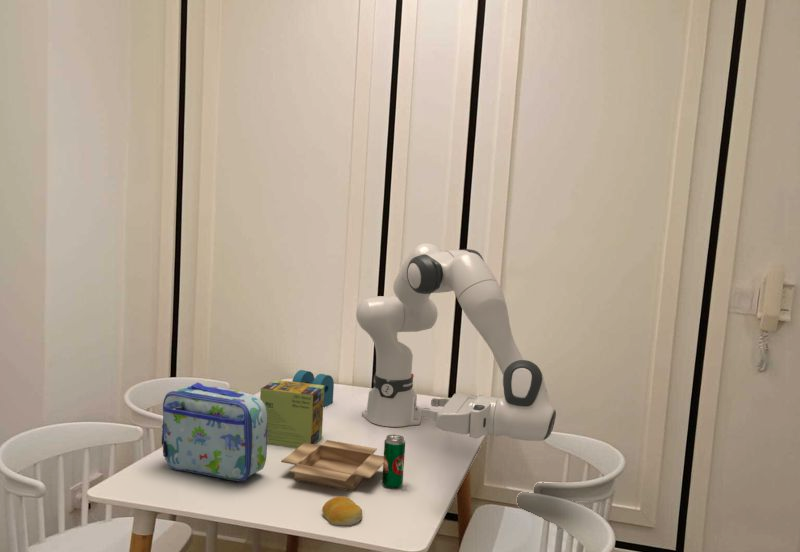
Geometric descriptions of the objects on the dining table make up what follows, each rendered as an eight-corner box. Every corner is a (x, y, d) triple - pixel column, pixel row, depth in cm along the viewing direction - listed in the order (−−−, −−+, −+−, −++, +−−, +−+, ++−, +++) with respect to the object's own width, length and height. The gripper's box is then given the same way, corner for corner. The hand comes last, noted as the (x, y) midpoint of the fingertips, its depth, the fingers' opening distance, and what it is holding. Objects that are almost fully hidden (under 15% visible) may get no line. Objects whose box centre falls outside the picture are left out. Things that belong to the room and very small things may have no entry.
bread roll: (334, 530, 151) (335, 512, 151) (317, 513, 159) (318, 495, 158) (369, 523, 155) (370, 505, 155) (350, 506, 163) (351, 489, 162)
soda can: (381, 480, 178) (384, 433, 176) (401, 481, 178) (404, 434, 177) (382, 488, 173) (385, 440, 171) (403, 489, 173) (406, 441, 172)
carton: (310, 451, 194) (311, 437, 193) (392, 465, 188) (393, 451, 187) (272, 483, 172) (272, 467, 171) (362, 500, 166) (363, 484, 165)
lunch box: (154, 467, 177) (156, 384, 174) (183, 454, 187) (185, 375, 184) (244, 490, 167) (247, 402, 165) (269, 474, 177) (273, 391, 175)
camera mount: (306, 398, 242) (307, 367, 241) (332, 403, 238) (334, 372, 237) (274, 411, 226) (275, 378, 225) (302, 417, 222) (303, 384, 221)
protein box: (310, 450, 195) (313, 394, 193) (257, 443, 198) (259, 388, 196) (322, 438, 205) (325, 385, 203) (271, 431, 208) (273, 378, 206)
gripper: (492, 391, 178) (437, 383, 182) (477, 413, 159) (416, 404, 163) (490, 415, 179) (436, 408, 183) (475, 441, 160) (414, 431, 163)
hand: (426, 406), depth 173 cm, fingers open, 8 cm apart
